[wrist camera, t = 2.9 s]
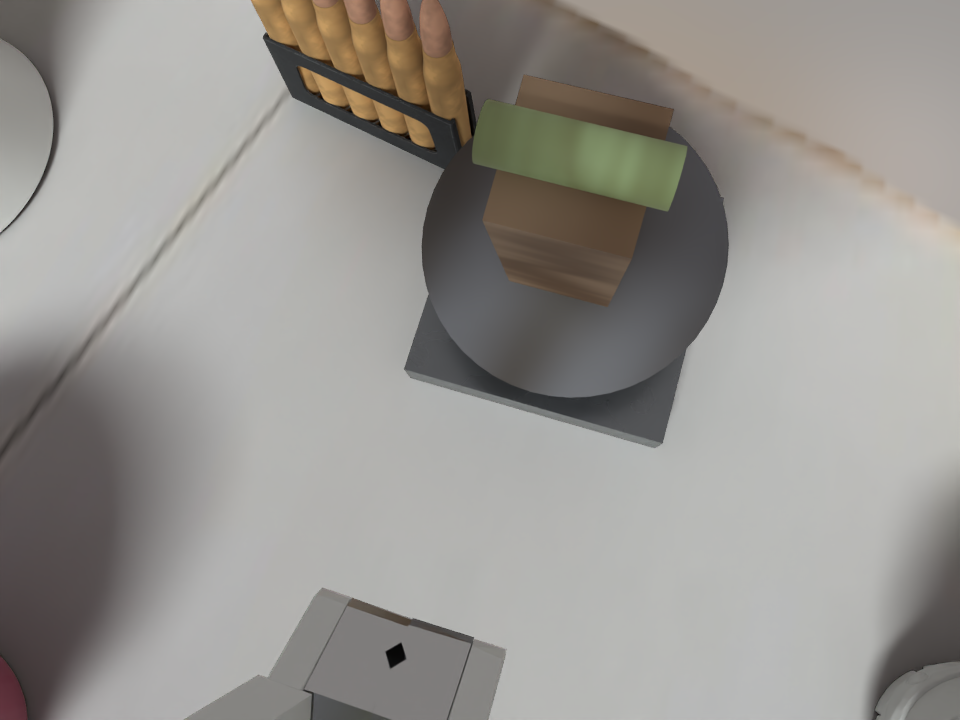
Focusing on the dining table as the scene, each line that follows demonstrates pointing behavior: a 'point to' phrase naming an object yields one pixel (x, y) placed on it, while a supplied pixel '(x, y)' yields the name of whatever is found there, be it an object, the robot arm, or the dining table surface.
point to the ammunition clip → (375, 69)
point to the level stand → (616, 414)
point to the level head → (574, 241)
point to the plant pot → (10, 695)
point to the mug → (923, 695)
